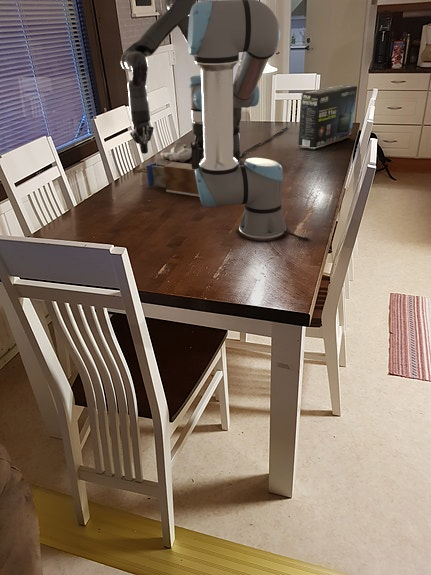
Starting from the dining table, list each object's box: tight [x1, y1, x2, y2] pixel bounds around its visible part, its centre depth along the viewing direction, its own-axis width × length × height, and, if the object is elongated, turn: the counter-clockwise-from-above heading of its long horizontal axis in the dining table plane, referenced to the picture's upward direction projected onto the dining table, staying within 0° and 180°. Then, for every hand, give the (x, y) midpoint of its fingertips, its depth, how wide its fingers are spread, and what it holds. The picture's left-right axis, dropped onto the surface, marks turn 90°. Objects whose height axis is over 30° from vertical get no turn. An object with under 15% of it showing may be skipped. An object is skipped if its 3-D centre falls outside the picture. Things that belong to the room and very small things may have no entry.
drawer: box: [136, 161, 166, 189], centre depth 188 cm, size 25×5×9 cm, turn 61°
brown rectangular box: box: [164, 161, 199, 197], centre depth 183 cm, size 21×6×10 cm, turn 61°
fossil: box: [160, 142, 192, 163], centre depth 229 cm, size 18×11×15 cm
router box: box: [297, 84, 358, 151], centre depth 238 cm, size 36×11×27 cm, turn 134°
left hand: (144, 153), depth 188 cm, fingers closed
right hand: (204, 182), depth 180 cm, fingers closed on brown rectangular box, 6 cm apart
